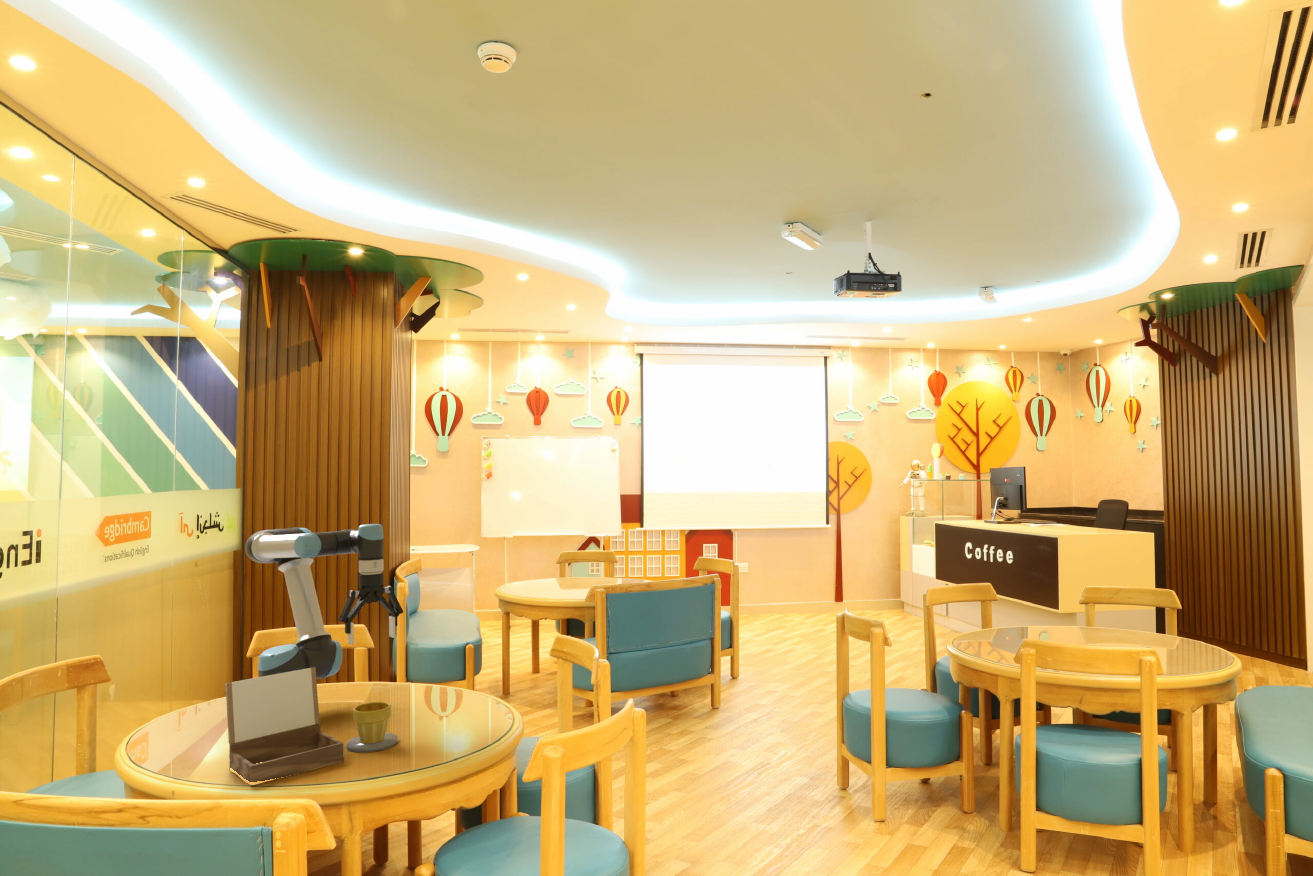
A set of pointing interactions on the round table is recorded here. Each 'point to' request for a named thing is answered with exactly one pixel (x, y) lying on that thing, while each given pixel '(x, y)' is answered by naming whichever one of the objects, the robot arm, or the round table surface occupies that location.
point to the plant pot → (372, 721)
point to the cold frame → (285, 753)
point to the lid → (271, 704)
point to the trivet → (372, 744)
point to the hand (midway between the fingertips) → (371, 640)
